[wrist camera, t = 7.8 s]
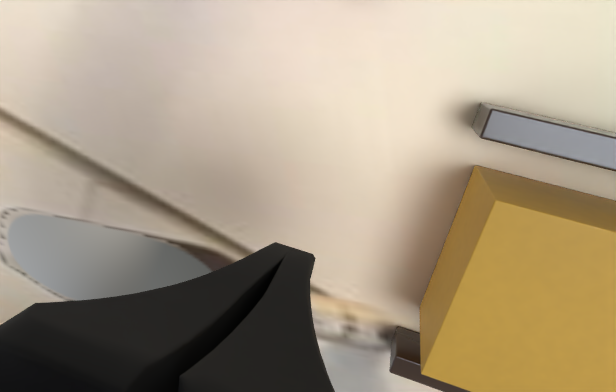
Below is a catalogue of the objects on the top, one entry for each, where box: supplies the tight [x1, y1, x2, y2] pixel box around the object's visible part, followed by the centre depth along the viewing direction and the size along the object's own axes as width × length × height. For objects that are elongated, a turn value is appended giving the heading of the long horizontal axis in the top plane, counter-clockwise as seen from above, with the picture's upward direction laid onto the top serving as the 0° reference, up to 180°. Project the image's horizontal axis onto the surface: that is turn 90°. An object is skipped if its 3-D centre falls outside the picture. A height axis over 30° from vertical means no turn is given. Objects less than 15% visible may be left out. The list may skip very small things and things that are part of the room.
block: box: [419, 165, 616, 392], centre depth 14 cm, size 7×7×4 cm
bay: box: [390, 102, 616, 392], centre depth 14 cm, size 12×9×2 cm
